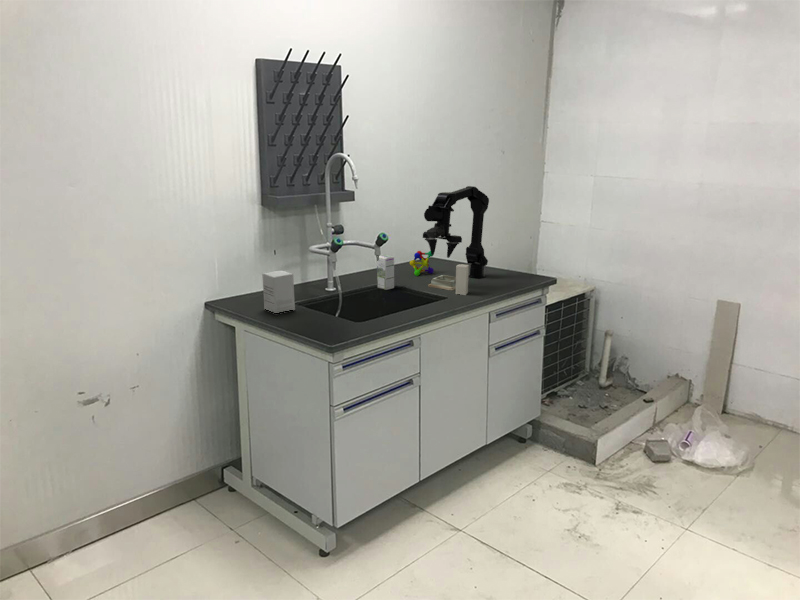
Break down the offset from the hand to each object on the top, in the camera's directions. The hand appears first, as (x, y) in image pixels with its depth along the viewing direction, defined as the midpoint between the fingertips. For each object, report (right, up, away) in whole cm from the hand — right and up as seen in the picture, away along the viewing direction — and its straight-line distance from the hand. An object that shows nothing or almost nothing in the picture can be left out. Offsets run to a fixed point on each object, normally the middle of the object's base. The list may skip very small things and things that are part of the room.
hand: (440, 256), depth 283 cm
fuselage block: (+9, -17, -8) cm, 21 cm away
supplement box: (-66, -24, -34) cm, 78 cm away
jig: (+3, -13, +5) cm, 15 cm away
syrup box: (-25, -14, +1) cm, 29 cm away
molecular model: (-7, -7, +29) cm, 30 cm away
